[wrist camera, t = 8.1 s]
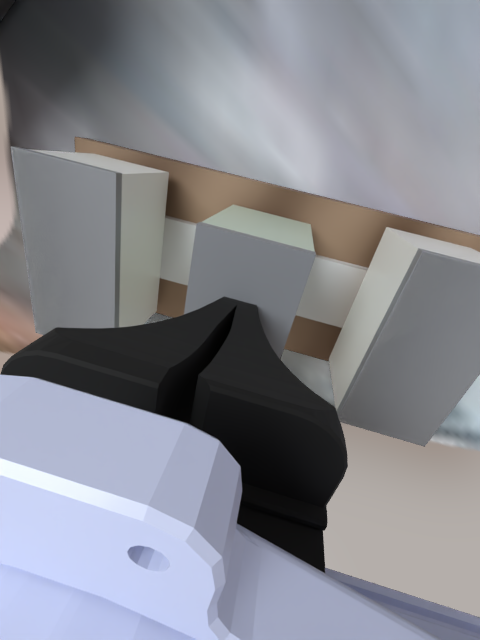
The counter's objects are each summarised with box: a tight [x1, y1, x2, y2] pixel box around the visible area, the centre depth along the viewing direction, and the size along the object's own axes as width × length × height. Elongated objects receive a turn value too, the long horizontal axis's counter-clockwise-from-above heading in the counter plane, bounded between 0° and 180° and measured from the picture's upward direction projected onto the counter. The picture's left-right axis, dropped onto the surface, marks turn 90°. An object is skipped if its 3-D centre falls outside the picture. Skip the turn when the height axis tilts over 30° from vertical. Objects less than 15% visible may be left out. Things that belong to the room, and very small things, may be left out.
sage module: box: [184, 205, 316, 359], centre depth 14 cm, size 4×6×6 cm, turn 168°
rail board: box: [75, 137, 480, 361], centre depth 17 cm, size 22×9×2 cm, turn 78°
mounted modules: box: [11, 147, 480, 446], centre depth 15 cm, size 19×8×5 cm, turn 78°
